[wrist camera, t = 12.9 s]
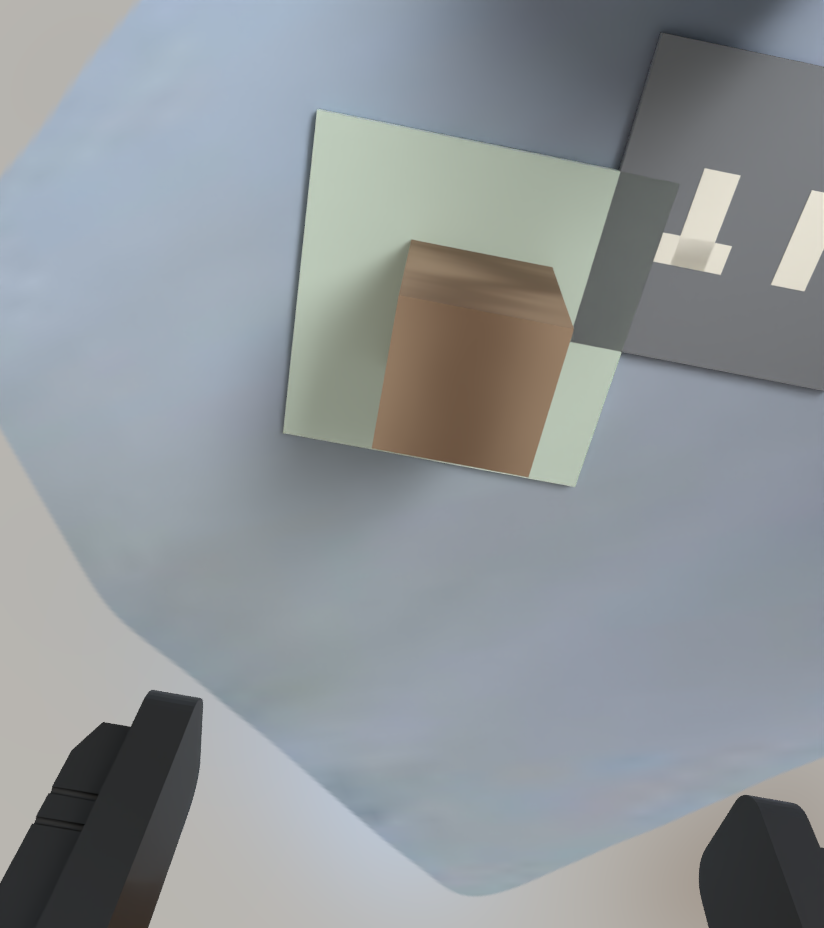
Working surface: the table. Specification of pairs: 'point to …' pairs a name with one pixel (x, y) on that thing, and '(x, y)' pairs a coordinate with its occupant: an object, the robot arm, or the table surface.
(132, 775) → the robot arm
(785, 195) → the tile
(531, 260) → the coaster
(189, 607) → the table surface
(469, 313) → the walnut block
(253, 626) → the table surface
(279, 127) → the table surface
